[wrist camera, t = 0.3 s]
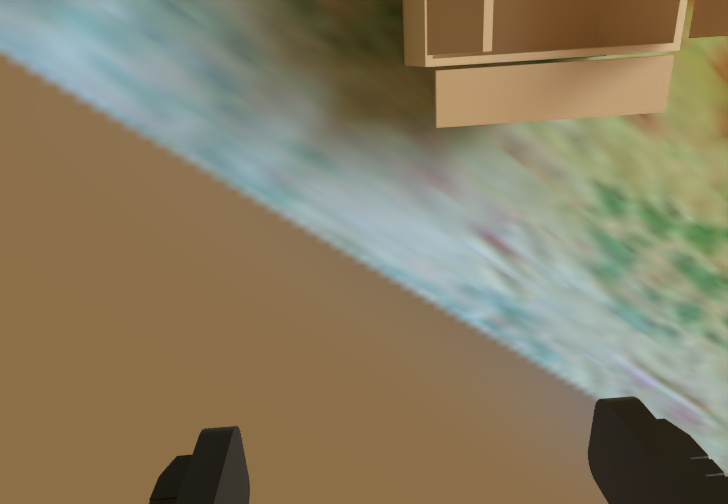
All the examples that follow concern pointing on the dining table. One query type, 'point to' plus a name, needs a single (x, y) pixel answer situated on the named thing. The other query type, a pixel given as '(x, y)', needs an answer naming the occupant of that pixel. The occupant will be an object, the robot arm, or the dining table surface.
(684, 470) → the robot arm
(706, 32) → the flap
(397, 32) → the dining table surface
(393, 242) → the dining table surface
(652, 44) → the carton
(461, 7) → the flap
